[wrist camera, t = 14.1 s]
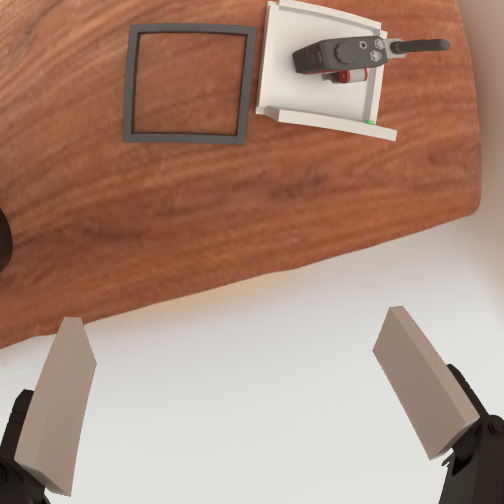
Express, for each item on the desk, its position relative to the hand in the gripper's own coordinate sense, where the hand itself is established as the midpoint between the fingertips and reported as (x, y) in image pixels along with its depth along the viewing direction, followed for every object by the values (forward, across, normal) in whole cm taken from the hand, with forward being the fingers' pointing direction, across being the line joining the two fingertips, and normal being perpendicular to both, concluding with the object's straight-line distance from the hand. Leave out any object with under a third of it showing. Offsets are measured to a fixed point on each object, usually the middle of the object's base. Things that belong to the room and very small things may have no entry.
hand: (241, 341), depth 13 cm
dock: (+31, +12, +14) cm, 36 cm away
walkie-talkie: (+30, +13, +14) cm, 35 cm away
